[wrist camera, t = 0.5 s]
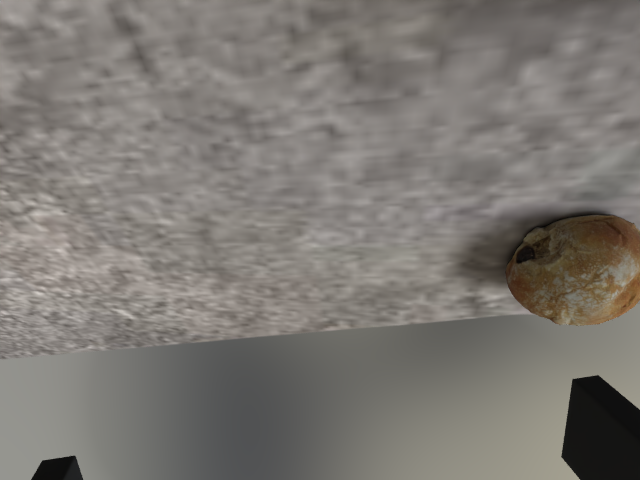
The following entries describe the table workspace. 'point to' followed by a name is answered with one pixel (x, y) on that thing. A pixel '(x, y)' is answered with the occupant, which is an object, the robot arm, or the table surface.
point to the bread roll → (578, 270)
